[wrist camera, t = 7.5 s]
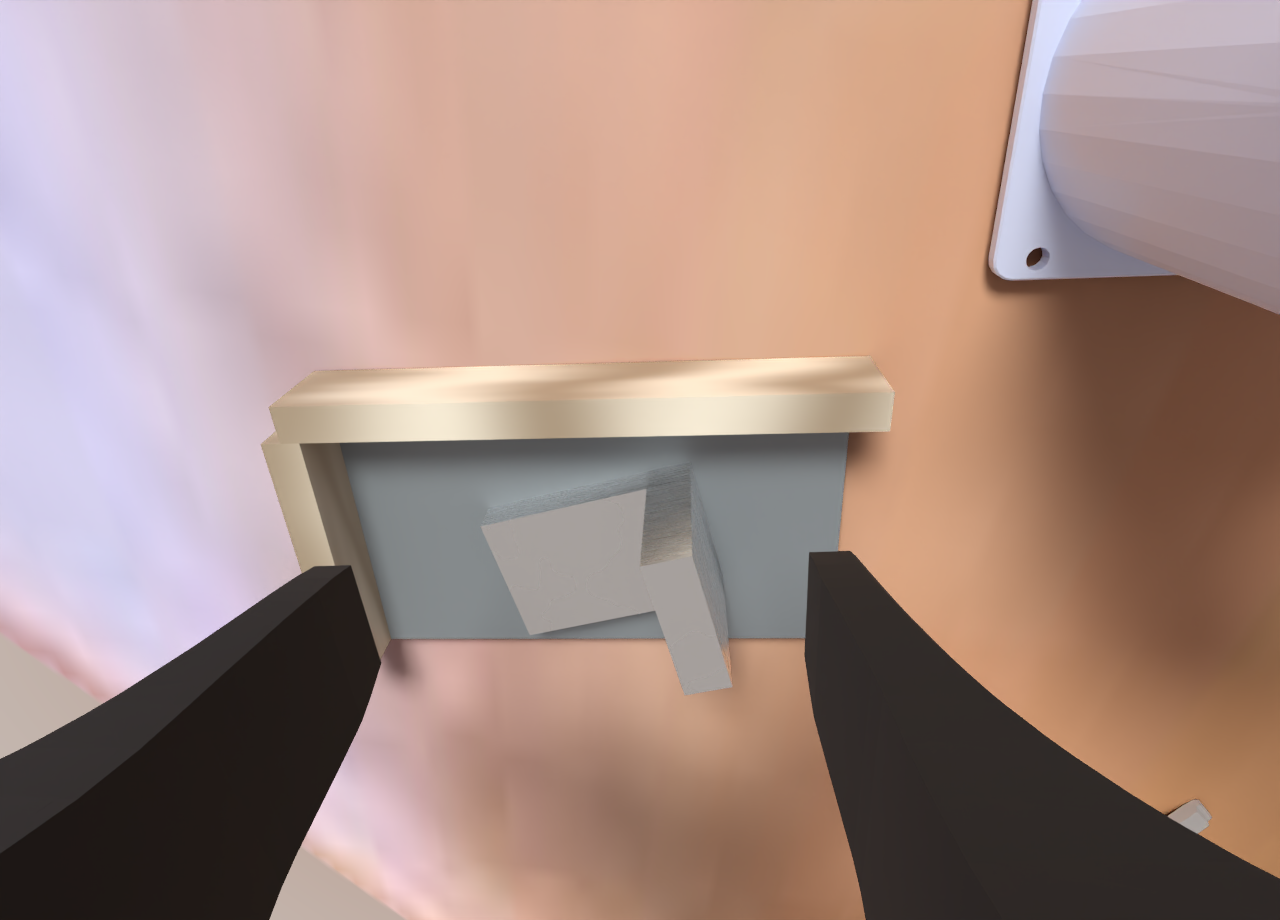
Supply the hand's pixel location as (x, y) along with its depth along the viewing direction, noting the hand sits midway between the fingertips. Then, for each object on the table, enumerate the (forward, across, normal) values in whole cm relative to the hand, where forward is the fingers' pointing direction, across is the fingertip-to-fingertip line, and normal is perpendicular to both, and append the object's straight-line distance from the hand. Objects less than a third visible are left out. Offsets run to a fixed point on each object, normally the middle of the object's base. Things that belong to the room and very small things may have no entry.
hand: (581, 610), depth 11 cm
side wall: (+9, +9, +4) cm, 13 cm away
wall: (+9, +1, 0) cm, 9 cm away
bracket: (+9, +1, +5) cm, 10 cm away
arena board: (+9, +1, +4) cm, 10 cm away
